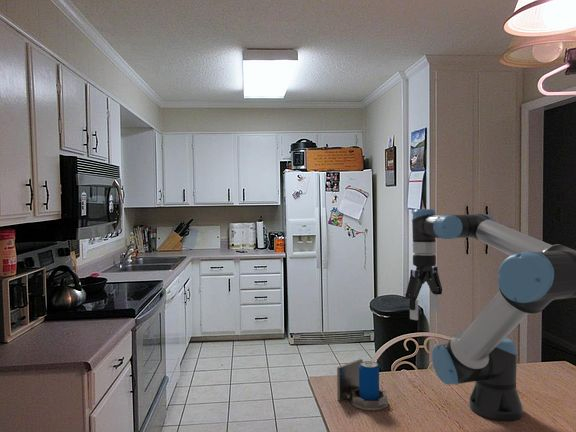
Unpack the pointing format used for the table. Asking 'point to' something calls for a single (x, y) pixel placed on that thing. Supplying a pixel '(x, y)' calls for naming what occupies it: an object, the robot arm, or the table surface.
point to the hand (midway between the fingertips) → (424, 316)
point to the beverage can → (369, 380)
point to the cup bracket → (356, 388)
